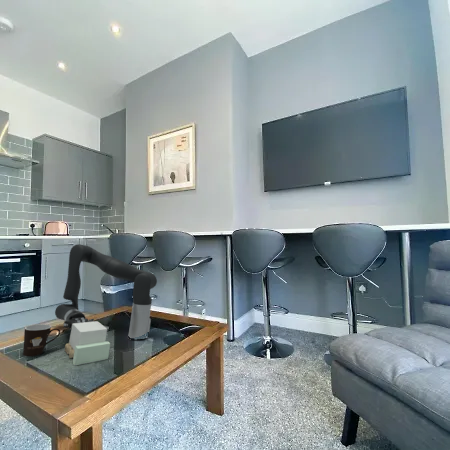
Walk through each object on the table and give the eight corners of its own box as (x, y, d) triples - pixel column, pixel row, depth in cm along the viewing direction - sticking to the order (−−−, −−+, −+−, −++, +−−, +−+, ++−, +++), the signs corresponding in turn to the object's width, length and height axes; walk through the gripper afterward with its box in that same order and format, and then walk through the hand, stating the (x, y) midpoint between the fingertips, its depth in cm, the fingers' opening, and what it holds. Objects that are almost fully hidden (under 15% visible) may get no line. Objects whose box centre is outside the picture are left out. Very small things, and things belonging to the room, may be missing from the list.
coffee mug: (14, 357, 93) (20, 330, 94) (26, 349, 101) (31, 323, 103) (49, 357, 96) (54, 330, 97) (58, 349, 104) (62, 324, 106)
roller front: (102, 343, 106) (103, 348, 104) (100, 348, 107) (101, 354, 105) (70, 348, 98) (71, 353, 96) (68, 354, 99) (69, 359, 97)
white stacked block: (94, 339, 111) (97, 321, 112) (104, 349, 101) (107, 329, 103) (68, 343, 104) (72, 323, 105) (76, 353, 95) (80, 332, 96)
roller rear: (98, 340, 110) (97, 347, 110) (95, 338, 112) (94, 346, 112) (67, 344, 102) (66, 352, 101) (65, 343, 104) (64, 350, 103)
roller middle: (98, 340, 110) (100, 344, 107) (96, 345, 110) (98, 350, 108) (67, 344, 101) (68, 349, 99) (66, 350, 102) (67, 355, 100)
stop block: (105, 356, 102) (107, 341, 103) (107, 358, 100) (110, 343, 100) (72, 362, 94) (75, 346, 94) (74, 365, 91) (77, 348, 92)
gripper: (60, 311, 117) (68, 320, 104) (90, 309, 126) (101, 318, 113) (57, 327, 116) (65, 339, 103) (87, 324, 125) (98, 335, 112)
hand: (84, 328), depth 108 cm, fingers closed
